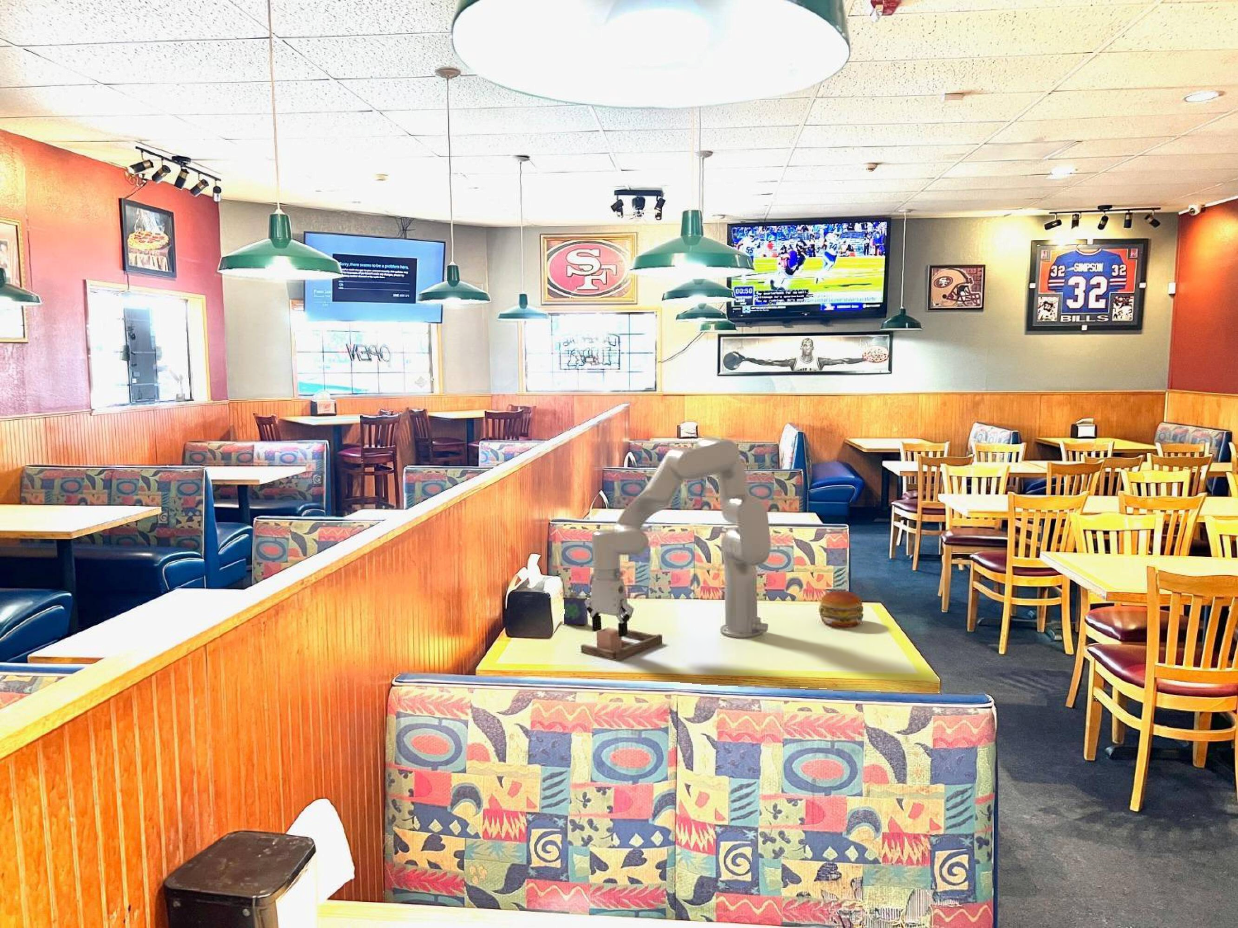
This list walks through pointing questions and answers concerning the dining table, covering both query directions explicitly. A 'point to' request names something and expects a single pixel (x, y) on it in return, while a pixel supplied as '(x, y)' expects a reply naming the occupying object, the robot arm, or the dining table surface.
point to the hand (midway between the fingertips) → (610, 633)
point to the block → (609, 639)
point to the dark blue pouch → (575, 610)
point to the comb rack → (626, 646)
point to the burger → (841, 609)
